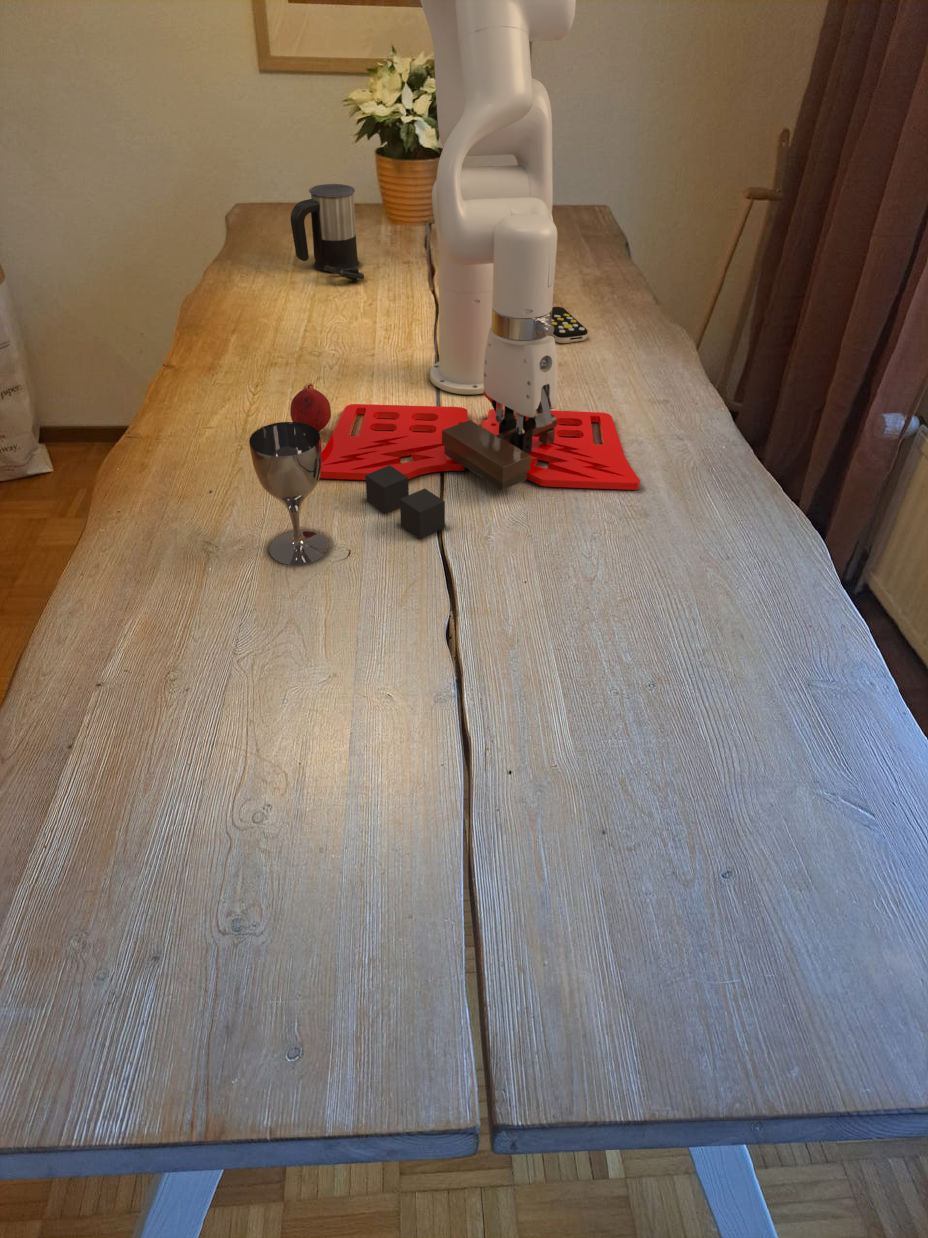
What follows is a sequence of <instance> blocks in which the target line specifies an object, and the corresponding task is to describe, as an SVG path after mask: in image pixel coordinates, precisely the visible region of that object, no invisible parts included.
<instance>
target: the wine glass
mask: <svg viewBox="0 0 928 1238" xmlns="http://www.w3.org/2000/svg"><path fill="white" fill-rule="evenodd" d="M321 437H322V436H321V434H320V431H319V432H318V430H316V429H315V428H314V427H312V426H310V425H307V424H304V423H298V422H293V421H281V422H274V423H270V424H267V425H264V426H262V427H260V428H258V429H256V430H255V431H254V432H253V433H252V434H251V435H250V437H249V440H248V444H249V453H250V457H251V463H252V466H253V469H254V472H255V474H256V476H257V479H258V481H259V483H260V485H261V487H262V489H264V491H265V492H267V494H268V495H270V496H271V497H273V498H275V499H276V500H277V501H279V502H280V503H281V504H282V505H284V506H285V508H286V509H287V511H288V513H289V517H290V521H291V524H292V531H290V532H287V533H284V534H282V535H280V536H278V537H276V539H274V540H273V541H272V542H271V544H270V545H269V555H270V556H271V558H272V559H273V560H275V561H277V562H279V563H280V564H283V565H287V566H302V565H308V564H312V563H314V562H316V561H318V560H321V558H322V557H324V556H326V555H325V554H326V553H328V550H329V544H328V543H329V542H328V540H327V539H326V538H325V537H324V536H323V535H321V534H320V533H317V532H314V531H310V530H309V531H307V530H301V527H300V510H301V507H302V505H303V503H304V501H305V500H306V499H307V498H308V497H309V495H311V494H312V492H313V491H314V490H315V489H316V488H317V486H318V484H319V481H320V479H321V478H320V473H321V467H322V451H323V447H322V439H321Z"/></svg>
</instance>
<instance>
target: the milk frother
mask: <svg viewBox="0 0 928 1238" xmlns="http://www.w3.org/2000/svg"><path fill="white" fill-rule="evenodd" d="M355 192H356V189H355V187H353V186H351V185H348V184H342V183H324V184H317V185H313V186H312V187H310V188H309V189H308V193H310V198H308V199H304V200H301V201H298V202H297V203H296V204H295V205H294V206H293V208H292V210H291V212H290V226H291V233H292V239H293V244H294V250H295V251H294V252H295V255H296V258H297V259H298V260H300V261H301V262H307V261H308V260H309V258H310V257H309V249H308V241H307V240H308V239H307V233H306V227H305V225H306V224H305V220H306V217H307V216H308V215H309V214H310V217H311V219H310V220H311V232H312V245H313V257H314V267H315V268H317V270H320V271H323V272H329V273H332V274H337V275H339V276H341V277H343V278H345V279H348V280H350V281H351V282H354V283H356V282H357V281H358V280H363V279H365V274H364V271H359V268H358V267H359V266H360V261H359V258H358V247H357V245H358V244H357V234H356V233H357V231H356V229H357V227H356V213H355V212H356V211H355Z"/></svg>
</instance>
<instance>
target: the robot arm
mask: <svg viewBox="0 0 928 1238" xmlns="http://www.w3.org/2000/svg"><path fill="white" fill-rule="evenodd" d="M419 1H420V4H421V7H422V11H423V14H424V16H425V20H426V22H427V25H428V28H429V32H430V36H431V39H432V47H433V64H434V79H435V80H434V81H435V82H434V83H435V98H436V100H435V101H436V102H435V103H436V116H437V117H436V118H437V119H436V120H437V125H438V126H437V129H438V135H439V139H440V143H441V146H442V147H443V148H442V150H441V153H440V157H439V160H438V165H437V171H436V179H435V181H434V183H433V185H432V190H431V205H432V206H431V208H432V215H433V221H434V228H435V235H436V245H437V259H438V260H437V261H438V263H437V264H438V355H439V356H438V361H437V362H436V363H434V364H433V365H432V366H431V368H430V369H429V380H430V382H431V383H432V384H433V385H434V386H435V387H437V388H438V389H440V390H442V391H444V392H448V393H451V394H457V395H484V397H485V398H486V399H487V401H489V403H490V404H491V406H492V409H494V410H495V412H496V421H497V423H499V424H500V425H499V434H500V433H503V432H505V431H508V430H510V429H513V428H515V427H516V432H514V433H513V439H512V440H513V442H512V445H514V446H515V447H517V448H519V449H521V450H522V451H524V452H526V453H527V454H530V453H531V450H532V435H533V430H534V429H536V428H537V427H545V426H548V425H550V424H552V417H551V412H550V410H554V409H556V406H557V402H558V383H559V382H558V381H559V379H558V378H559V375H558V369H559V367H558V352H557V343H556V341H555V338H554V337H552V336H551V335H552V334H553V332H554V326H552V325H551V319H552V307H553V303H554V290H555V289H554V288H555V278H556V265H557V264H556V263H557V252H558V251H557V249H558V228H557V226H556V224H555V222H554V218H553V217H554V216H553V207H554V206H553V204H554V185H553V184H554V174H553V173H554V172H553V169H554V168H553V165H554V164H553V161H554V160H553V113H552V105H551V100H550V96H549V94H548V93H549V92H548V90H547V89H546V87H545V86H544V85H543V83H542V82H541V81H539V80H538V79H536V78H533V76H532V75H533V74H532V61H531V49H530V42H552V41H554V42H555V41H559V40H562V39H564V38H565V37H566V36H567V35H568V34H569V33H570V31H571V29H572V27H573V24H574V21H575V16H576V7H577V0H419ZM503 155H504V156H507V155H509V156H510V155H511V156H514V157H515V160H516V162H517V163H516V164H513V165H481V166H464V167H463V163H464V161H465V158H466V157H483V156H486V157H487V156H503ZM516 412H517V418H515V417H516ZM526 417H529V418H528V420H527V421H526Z"/></svg>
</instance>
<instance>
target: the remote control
mask: <svg viewBox="0 0 928 1238" xmlns="http://www.w3.org/2000/svg"><path fill="white" fill-rule="evenodd" d="M551 325H552V326H554V332H553V334H552V335H551V336H552V337H554V338H555V343H558V344H568V343H577V342H578V343H579V342H584V341H585V340H587V338H588V333H589V332H588V331H589V330H588V329H587V328H586V327H585V326H584V325H583V324H582V323H581V322H580V321H578V319H576V318H575V317H574V316H573V315H572V314H571V313H570V312H569V311H567V309H565V308H564V307H561V306H552V319H551Z"/></svg>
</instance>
